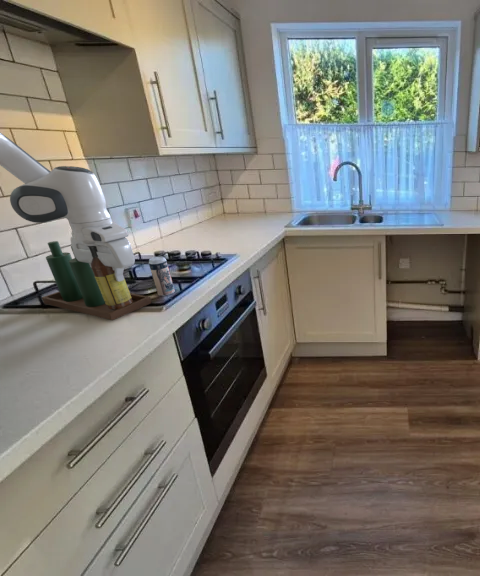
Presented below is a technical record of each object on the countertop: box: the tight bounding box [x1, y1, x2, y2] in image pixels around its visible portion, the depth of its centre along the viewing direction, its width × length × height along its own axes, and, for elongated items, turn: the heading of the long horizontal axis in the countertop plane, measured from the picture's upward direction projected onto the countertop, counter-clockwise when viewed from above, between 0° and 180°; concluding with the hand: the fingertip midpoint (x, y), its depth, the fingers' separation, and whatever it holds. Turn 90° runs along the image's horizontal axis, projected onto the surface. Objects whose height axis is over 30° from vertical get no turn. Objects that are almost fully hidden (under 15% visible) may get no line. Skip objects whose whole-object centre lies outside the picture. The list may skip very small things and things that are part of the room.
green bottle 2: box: [69, 245, 105, 307], centre depth 105 cm, size 6×6×18 cm
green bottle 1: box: [45, 240, 83, 302], centre depth 109 cm, size 6×6×18 cm
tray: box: [41, 291, 152, 321], centre depth 108 cm, size 32×12×3 cm, turn 68°
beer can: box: [148, 255, 176, 297], centre depth 113 cm, size 5×5×12 cm
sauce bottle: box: [88, 246, 132, 310], centre depth 100 cm, size 7×6×20 cm
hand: (111, 279), depth 101 cm, fingers closed on sauce bottle, 6 cm apart
